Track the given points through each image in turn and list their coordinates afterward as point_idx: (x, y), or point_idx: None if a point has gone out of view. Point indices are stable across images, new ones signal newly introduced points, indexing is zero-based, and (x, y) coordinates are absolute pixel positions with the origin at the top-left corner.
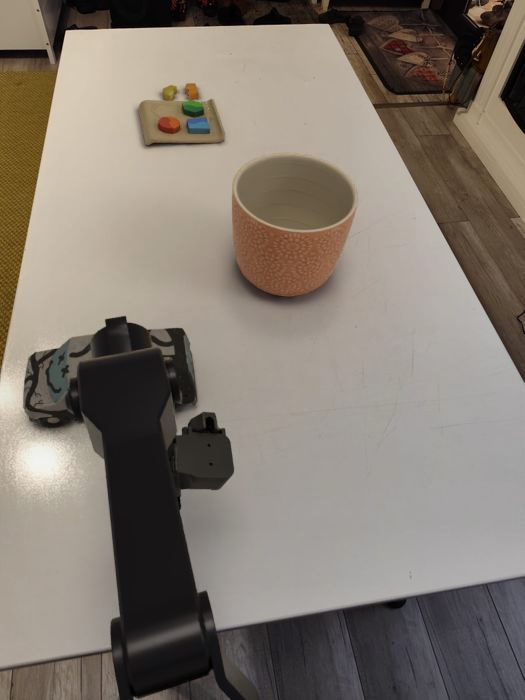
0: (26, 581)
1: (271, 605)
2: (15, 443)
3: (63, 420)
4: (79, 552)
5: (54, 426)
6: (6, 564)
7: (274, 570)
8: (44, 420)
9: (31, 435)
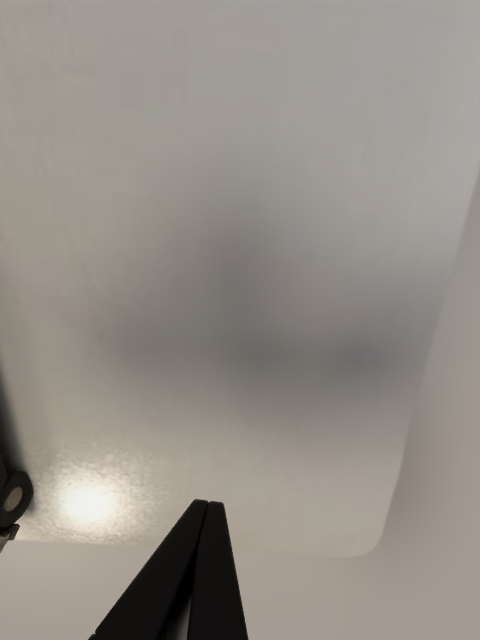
0: (274, 533)
1: (468, 119)
2: (62, 531)
3: (12, 486)
4: (246, 471)
5: (29, 488)
6: (244, 551)
7: (388, 91)
8: (13, 515)
9: (48, 513)
